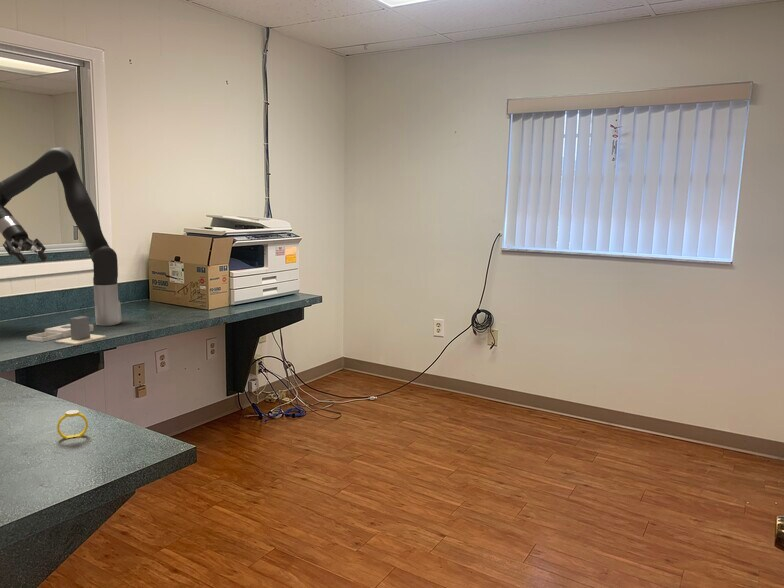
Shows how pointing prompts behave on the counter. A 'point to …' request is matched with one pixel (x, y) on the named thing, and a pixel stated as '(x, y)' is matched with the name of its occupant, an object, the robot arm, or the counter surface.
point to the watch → (72, 414)
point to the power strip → (53, 333)
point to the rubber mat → (76, 342)
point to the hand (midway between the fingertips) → (35, 261)
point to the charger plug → (80, 328)
